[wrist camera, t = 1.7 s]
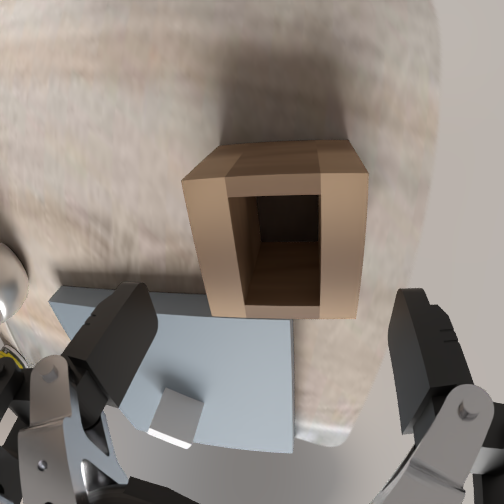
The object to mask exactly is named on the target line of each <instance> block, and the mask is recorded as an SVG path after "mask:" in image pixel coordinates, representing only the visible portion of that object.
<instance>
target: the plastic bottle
mask: <svg viewBox="0 0 504 504" xmlns="http://www.w3.org/2000/svg"><path fill="white" fill-rule="evenodd" d="M28 289H29V281H28V277H27V274H26V271H25V269H24V267H23V265H22V264H21V262H20V260H19V259H18V257H17V256H16V255H15V254H14V252H13V251H12V250H11V249H10V248H9V247H7V246H6V245H5V244H3V243H1V242H0V324H1V323H4V322H5V321H6V320H8V319H9V318H11V317H12V316H13V315H14V314H15V313H16V312H18V311H19V309H20V308H21V306H22V304H23V303H24V301H25V300H26V298H27V295H28Z"/></svg>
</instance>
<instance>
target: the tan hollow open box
mask: <svg viewBox="0 0 504 504" xmlns="http://www.w3.org/2000/svg"><path fill="white" fill-rule="evenodd" d="M368 176H369V173H368V172H367V170H366V168H365V166H364V165H363V163H362V161H361V160H360V158H359V156H358V155H357V153H356V152H355V150H354V148H353V147H352V145H351V144H350V142H349V140H302V141H277V142H259V143H245V144H233V145H221V146H218V147H217V148H216V149H215V150H214V151H213V152H212V153H210V154H209V155H208V156H207V157H206V158H205V159H204V160H203V161H202V162H201V163H199V164H198V165H197V166H196V167H195V168H194V169H193V170H192V171H191V172H190V173H189V174H188V175H187V176H186V177H185V178H183V179H182V180H181V183H182V188H183V193H184V197H185V202H186V207H187V212H188V216H189V221H190V226H191V230H192V235H193V239H194V244H195V248H196V253H197V257H198V261H199V265H200V270H201V274H202V278H203V282H204V286H205V290H206V294H207V298H208V302H209V306H210V310H211V314H212V316H218V317H240V318H272V319H356V314H357V307H358V300H359V292H360V284H361V275H362V266H363V256H364V245H365V233H366V218H367V201H368ZM275 195H318V241H312V242H261V235H260V226H259V217H258V207H257V198H256V196H275Z"/></svg>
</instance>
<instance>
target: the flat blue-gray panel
mask: <svg viewBox="0 0 504 504" xmlns="http://www.w3.org/2000/svg"><path fill="white" fill-rule="evenodd" d="M114 291H115V290H109V289H95V288H82V287H69V286H61V287H60V288H59V289H58V290H57V292H56V293H55V294H54V295H53V296H52V297H51V299H50V300H49V301H48V302H49V304H50V306H51V307H52V309H53V311H54V313H55V315H56V316H57V318H58V320H59V322H60V323H61V325H62V327H63V328H64V330H65V332H66V333H67V335H68V337H69V338H70V340H72V339H73V337H74V336H75V335H76V333H77V332H78V331H79V329H80V328H81V327H82V325H84V324H85V323H84V322H85V321H86V320H87V318H88V317H89V316H91V313H92V312H93V310H94V309H95V308H96V307H97V305H98V304H99V303H100V302H102V301H103V300H104V299H106V298H107V297H108V296H110V295H112V294H113V292H114ZM149 294H150V297H151V300H152V303H153V306H154V309H155V312H156V314H157V318H158V330H157V334H156V336H155V338H154V340H153V342H152V343H151V345H150V347H149V349H148V351H147V353H146V355H145V357H144V359H143V361H142V363H141V365H140V367H139V369H138V371H137V372H136V374H135V376H134V378H133V380H132V382H131V384H130V386H129V388H128V390H127V392H126V394H125V396H124V398H123V400H122V402H121V404H120V406H119V409H120V410H121V411H122V413H123V414H124V415H125V416H126V417H127V419H128V420H129V421H130V422H131V424H132V425H133V426H134V427H135V428H136V429H137V430H141V431H145V432H147V433H148V434H150V435H152V436H154V437H157V438H159V439H162V440H164V441H167V442H169V443H172V444H174V445H177V446H180V447H182V448H185V449H188V448H189V447H190V446H191V445H192V442H195V443H201V444H207V445H213V446H220V447H227V448H235V449H244V450H253V451H265V452H278V453H279V452H280V453H293V446H294V431H295V408H294V340H293V319H272V318H240V317H218V316H212V314H211V310H210V306H209V302H208V298H207V295H205V294H180V293H159V292H149Z"/></svg>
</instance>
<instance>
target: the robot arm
mask: <svg viewBox="0 0 504 504" xmlns="http://www.w3.org/2000/svg"><path fill="white" fill-rule="evenodd" d="M84 323H85V324H84V325H82V327H81V328H80V329H79V331H78V332H77V333H76V335H75V336H74V337H73V339H72V340H71V342H70V343H69V344H68V346H67V347H66V349H65V350H64V352H63V353H62V354H61V356H59V355H51V356H48V357H45V358H43V359H42V360H40V361H39V362H38V363H37V364H36V365H35V367H34V368H19V366H18V365H17V364H16V362H15V361H14V359H13V358H11V357H2V358H0V421H1V419H2V418H3V416H4V414H5V412H6V410H7V408H8V407H9V408H10V409H11V410H12V411H13V412H14V413H15V415H16V416H18V418H17V420H16V422H15V424H14V426H13V428H12V430H11V431H10V433H9V435H8V437H7V439H6V441H5V443H4V445H3V446H0V504H20V502H21V499H22V497H23V504H199V503H197V502H195V501H192V500H191V499H189V498H187V497H185V496H183V495H181V494H179V493H177V492H175V491H173V490H171V489H169V488H167V487H164V486H160V485H157V484H153V483H149V482H147V481H143V480H140V479H137V478H134V477H131V476H130V478H129V480H128V478H127V476H126V474H125V473H124V471H123V470H122V468H121V467H120V465H119V463H118V461H117V458H116V455H115V451H114V448H113V444H112V440H111V436H110V432H109V428H108V424H107V419H106V415H105V413H104V411H103V409H104V407H105V405H109V406H113V407H116V408H119V406H120V404H121V402H122V400H123V398H124V396H125V394H126V392H127V390H128V388H129V386H130V384H131V382H132V380H133V378H134V376H135V374H136V372H137V371H138V369H139V367H140V365H141V363H142V361H143V359H144V357H145V355H146V353H147V351H148V349H149V347H150V345H151V343H152V342H153V340H154V338H155V336H156V334H157V330H158V318H157V314H156V312H155V309H154V306H153V303H152V300H151V297H150V294H149V292H148V289H147V286H146V285H145V284H144V283H140V282H122V283H121V284H120V285H119V286H118V287H117V288H116V290H115V291H114V292H113V294H112V295H110V296H108V297H107V298H106V299H104V300H103V301H102V302H100V303H99V304H98V305H97V307H96V308H95V309H94V310H93V312H92V313H91V316H89V317H88V318H87V320H86V321H85V322H84ZM388 346H389V351H390V356H391V362H392V367H393V373H394V380H395V386H396V392H397V399H398V407H399V414H400V421H401V431H402V435H403V434H412V433H414V439H415V444H414V445H413V446H412V448H411V449H410V451H409V452H408V454H407V455H406V457H405V458H404V460H403V461H402V462H401V464H400V465H399V467H398V468H397V470H396V471H395V472H394V474H393V475H392V476H391V478H390V479H389V480H388V482H387V483H386V485H385V486H384V487H383V488H382V490H381V491H380V492H379V493H378V494H377V496H376V497H375V498H374V499H373V500H372V501H371V502H370V503H369V504H462V502H463V499H464V497H465V490H464V489H463V485H464V483H465V480H466V478H467V477H468V474H469V473H473V484H474V485H473V486H474V504H504V404H501V403H495V402H493V401H492V399H491V397H490V396H489V394H488V393H487V392H486V391H485V390H484V389H482V388H481V387H479V386H476V385H474V383H473V380H472V377H471V374H470V371H469V368H468V366H467V363H466V360H465V357H464V354H463V351H462V349H461V346H460V344H459V343H458V338H457V336H456V333H455V332H454V328H453V326H452V324H451V321H450V319H449V316H448V315H447V314H446V313H445V312H444V311H443V310H442V309H441V308H440V307H439V306H438V305H430V304H429V301H428V299H427V296H426V294H425V292H424V290H423V289H422V288H408V289H399V290H398V291H397V294H396V299H395V303H394V307H393V312H392V316H391V320H390V324H389V329H388Z"/></svg>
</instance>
